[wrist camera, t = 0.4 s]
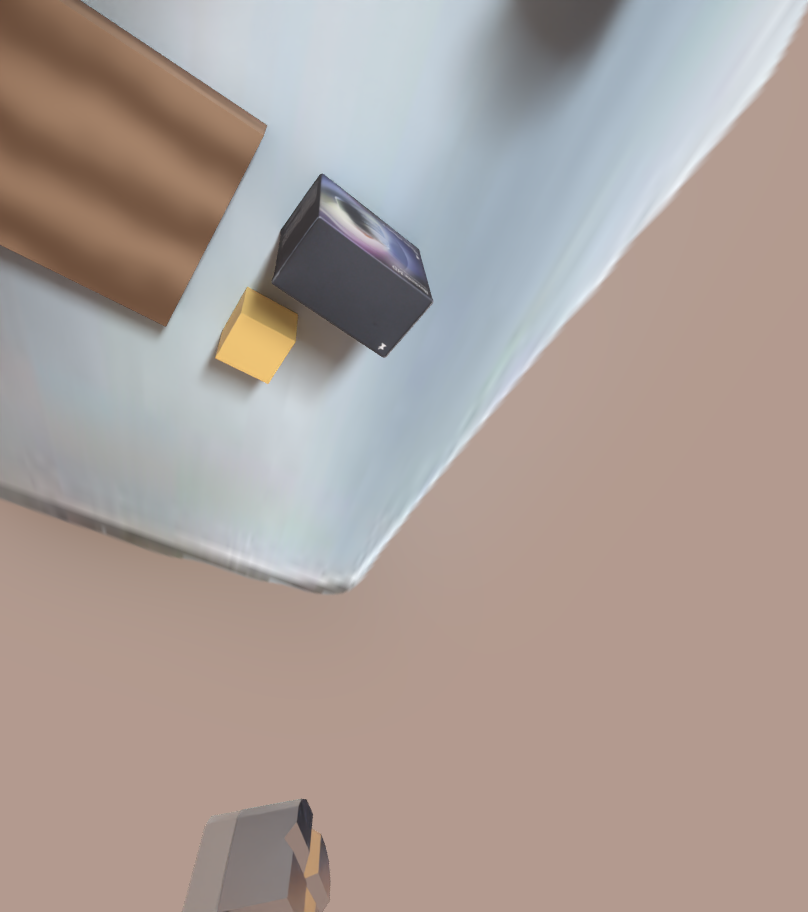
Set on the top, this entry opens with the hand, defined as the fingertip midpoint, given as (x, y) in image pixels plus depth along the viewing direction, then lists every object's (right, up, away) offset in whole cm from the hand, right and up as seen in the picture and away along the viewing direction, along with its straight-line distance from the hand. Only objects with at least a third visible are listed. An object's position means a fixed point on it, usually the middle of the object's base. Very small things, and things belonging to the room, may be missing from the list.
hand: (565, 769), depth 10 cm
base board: (-25, +27, +40) cm, 54 cm away
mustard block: (-16, +17, +49) cm, 55 cm away
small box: (-7, +23, +45) cm, 52 cm away
